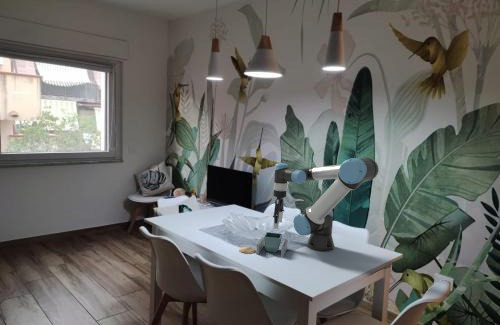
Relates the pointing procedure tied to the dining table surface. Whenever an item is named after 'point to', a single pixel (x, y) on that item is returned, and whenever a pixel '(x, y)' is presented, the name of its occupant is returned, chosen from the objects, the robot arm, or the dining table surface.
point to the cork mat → (247, 250)
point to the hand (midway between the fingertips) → (277, 225)
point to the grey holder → (261, 245)
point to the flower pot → (272, 241)
